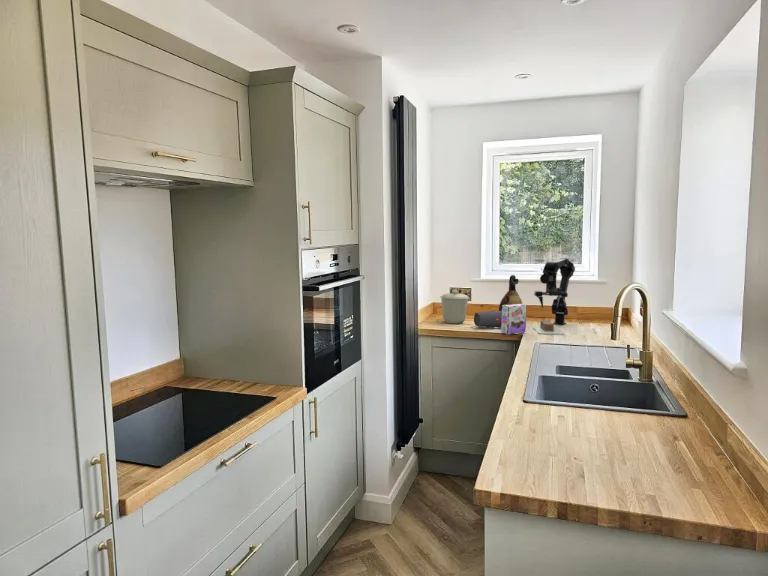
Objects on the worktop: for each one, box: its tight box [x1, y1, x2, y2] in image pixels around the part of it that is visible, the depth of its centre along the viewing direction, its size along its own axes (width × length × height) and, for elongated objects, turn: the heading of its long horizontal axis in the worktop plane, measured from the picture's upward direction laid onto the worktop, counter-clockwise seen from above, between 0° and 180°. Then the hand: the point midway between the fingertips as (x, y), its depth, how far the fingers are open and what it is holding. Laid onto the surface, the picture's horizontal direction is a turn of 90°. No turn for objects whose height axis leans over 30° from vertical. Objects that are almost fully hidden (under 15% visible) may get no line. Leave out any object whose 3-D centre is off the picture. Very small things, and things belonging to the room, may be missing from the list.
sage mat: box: [531, 325, 565, 336], centre depth 310 cm, size 22×14×1 cm, turn 174°
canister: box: [439, 289, 470, 325], centre depth 335 cm, size 18×18×21 cm
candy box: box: [500, 304, 527, 335], centre depth 302 cm, size 14×6×16 cm, turn 117°
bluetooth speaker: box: [473, 310, 502, 329], centre depth 319 cm, size 23×9×10 cm, turn 106°
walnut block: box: [539, 319, 555, 332], centre depth 310 cm, size 4×5×13 cm
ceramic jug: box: [498, 274, 524, 311], centre depth 341 cm, size 17×15×30 cm
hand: (550, 307), depth 321 cm, fingers open, 9 cm apart
